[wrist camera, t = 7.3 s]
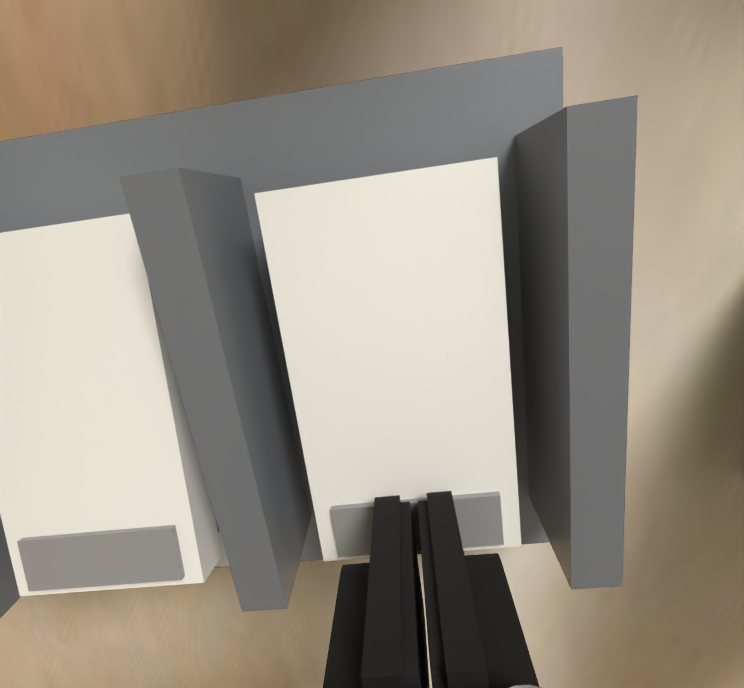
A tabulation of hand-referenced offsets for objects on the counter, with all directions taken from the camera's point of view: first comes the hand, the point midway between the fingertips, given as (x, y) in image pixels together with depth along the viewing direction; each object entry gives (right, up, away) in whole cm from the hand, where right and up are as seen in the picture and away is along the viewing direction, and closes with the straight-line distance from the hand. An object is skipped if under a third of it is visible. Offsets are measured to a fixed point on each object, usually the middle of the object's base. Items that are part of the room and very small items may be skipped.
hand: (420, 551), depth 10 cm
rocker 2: (0, +4, 0) cm, 4 cm away
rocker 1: (-7, +3, 0) cm, 8 cm away
